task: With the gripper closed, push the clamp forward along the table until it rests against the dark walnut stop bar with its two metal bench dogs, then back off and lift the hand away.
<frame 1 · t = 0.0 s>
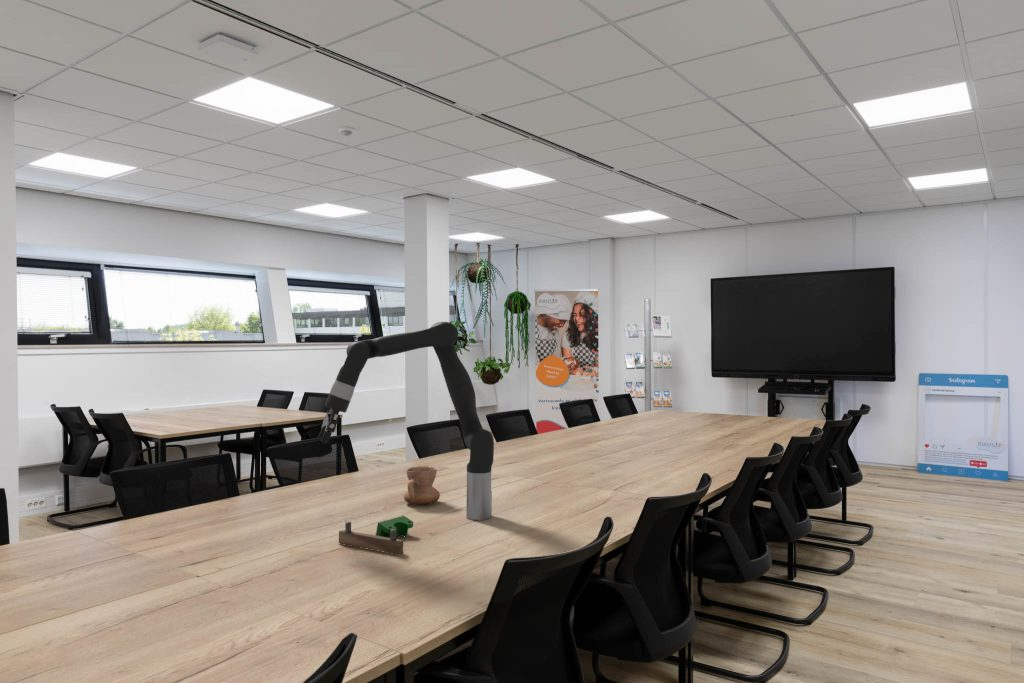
hand: (322, 441, 219), 31 cm above the table, tool tilted 20°, fingers open, 8 cm apart
ceramic jug: (420, 504, 261), on the table
stop bar: (370, 548, 203), on the table
clamp: (395, 538, 215), on the table
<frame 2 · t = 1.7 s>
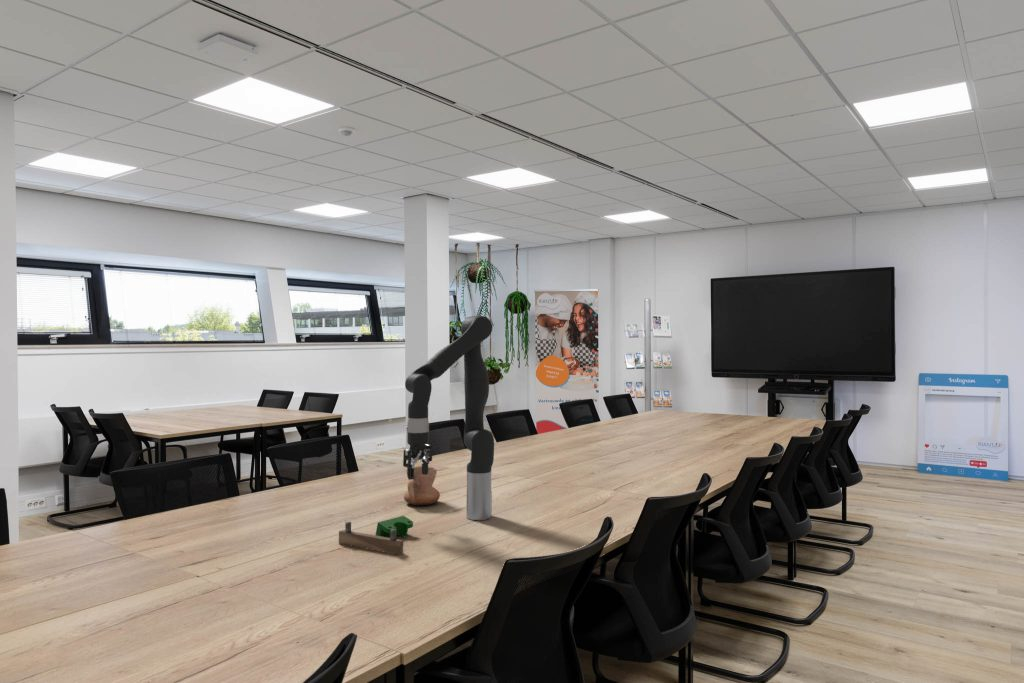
hand: (418, 476, 227), 18 cm above the table, tool pointing down, fingers open, 8 cm apart
nothing on the table moved.
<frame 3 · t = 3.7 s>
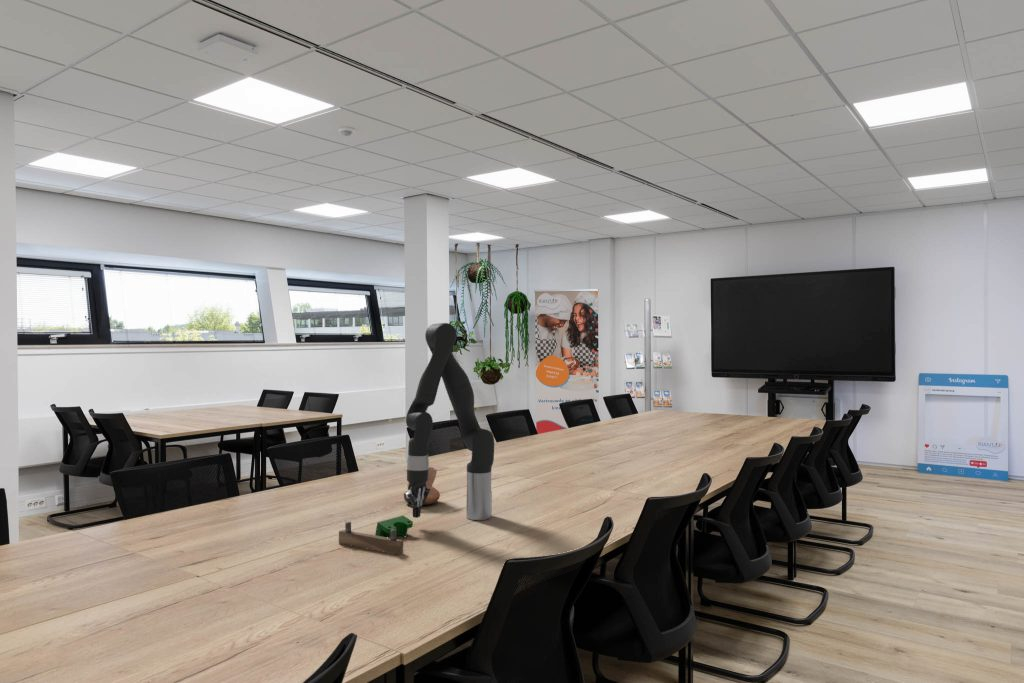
hand: (416, 517, 226), 4 cm above the table, tool pointing down, fingers closed
nothing on the table moved.
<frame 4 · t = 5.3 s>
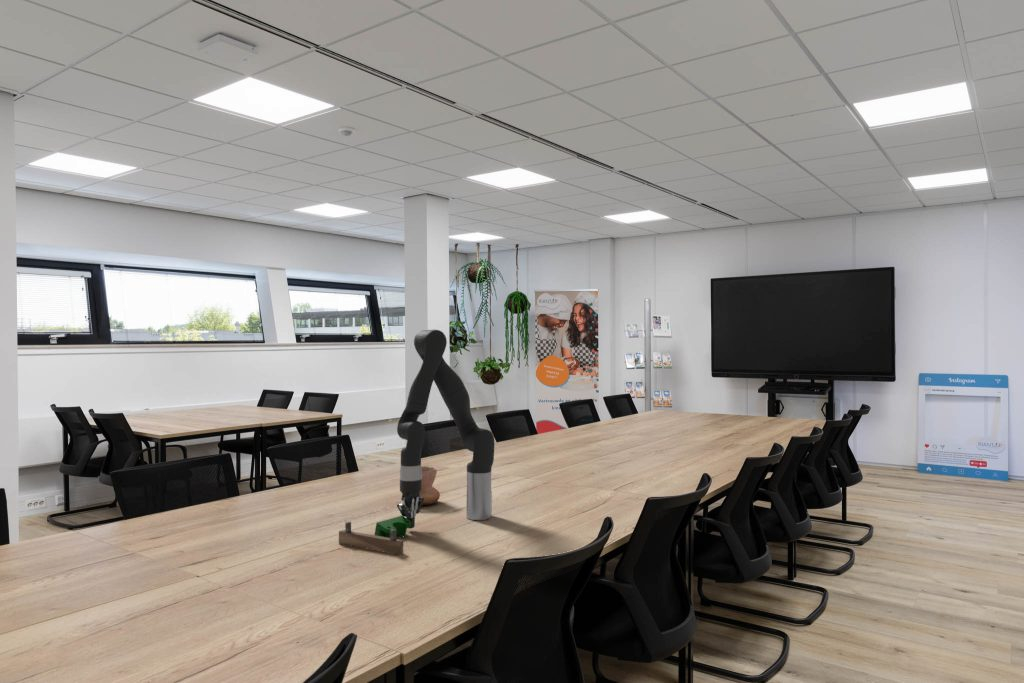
hand: (410, 527, 223), 1 cm above the table, tool pointing down, fingers closed
nothing on the table moved.
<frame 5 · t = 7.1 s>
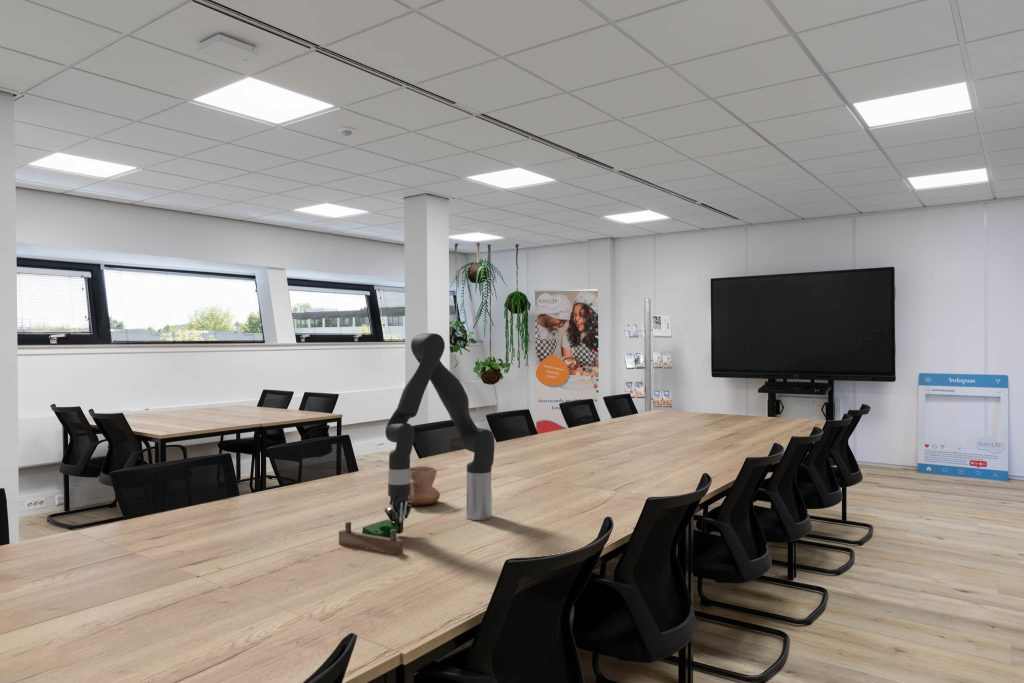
hand: (399, 532, 217), 1 cm above the table, tool pointing down, fingers closed
clamp: (380, 542, 210), on the table
everything else where it was.
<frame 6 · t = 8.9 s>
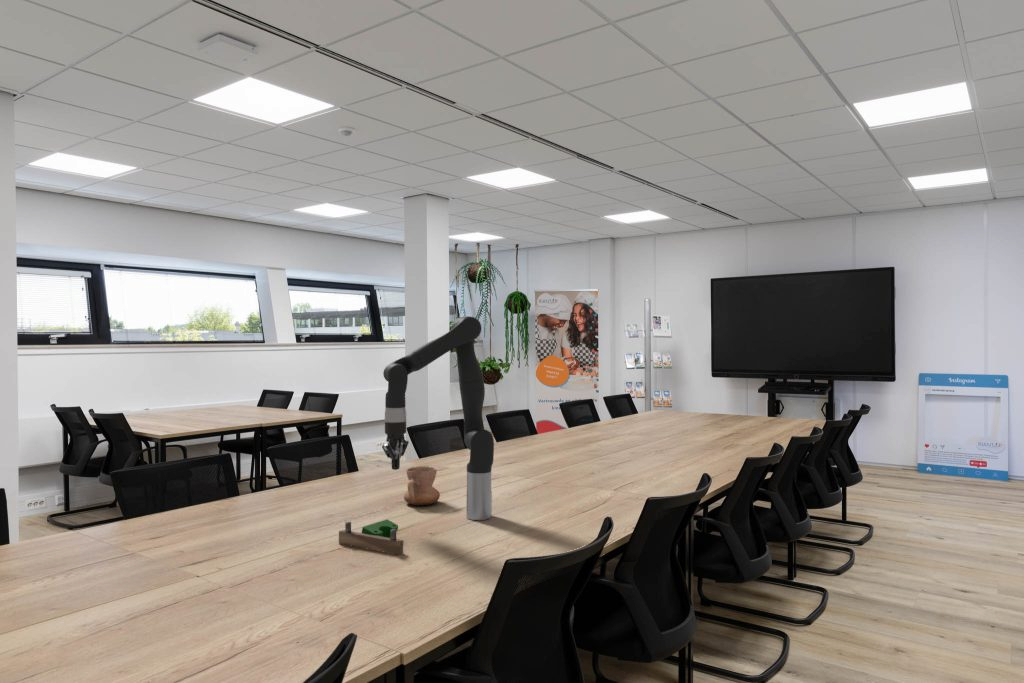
hand: (395, 469, 227), 20 cm above the table, tool pointing down, fingers closed
nothing on the table moved.
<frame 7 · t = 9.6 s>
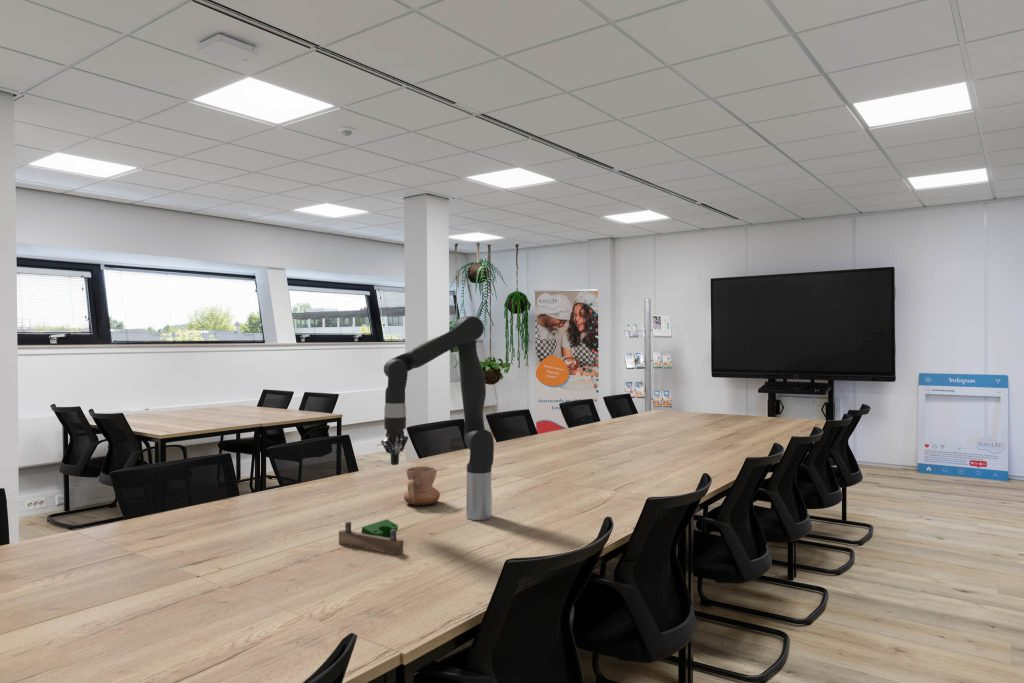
hand: (394, 464, 228), 22 cm above the table, tool pointing down, fingers closed
nothing on the table moved.
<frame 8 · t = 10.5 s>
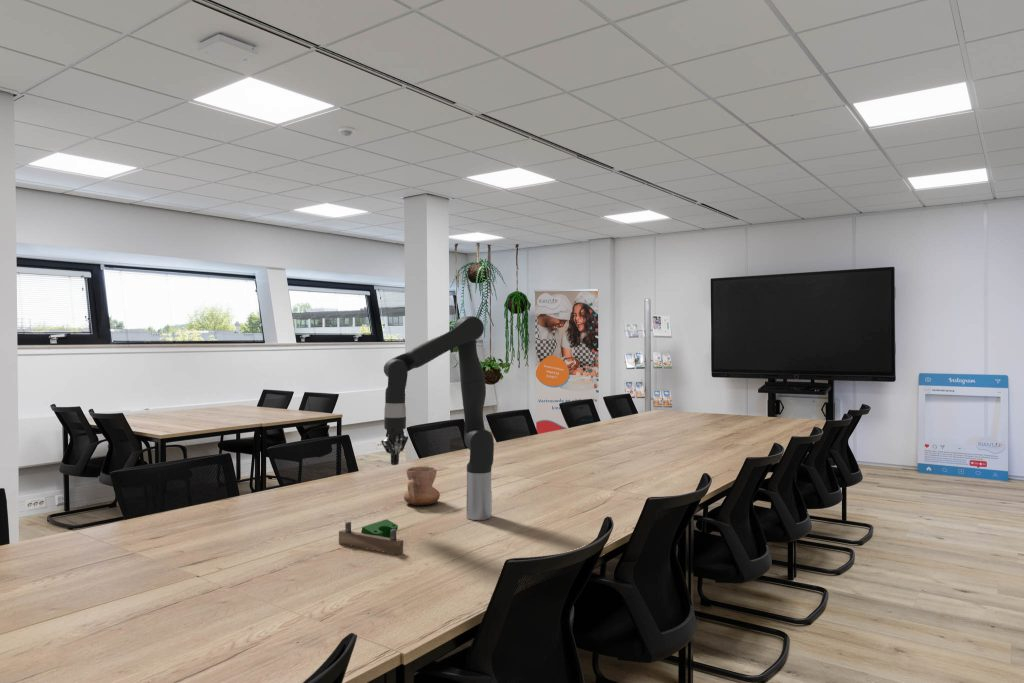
hand: (394, 464, 228), 22 cm above the table, tool pointing down, fingers closed
nothing on the table moved.
at the end: clamp inside the target area (1.7 cm from its centre), on the table; clamp tilted 0°; clamp moved 6.4 cm from its start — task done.
